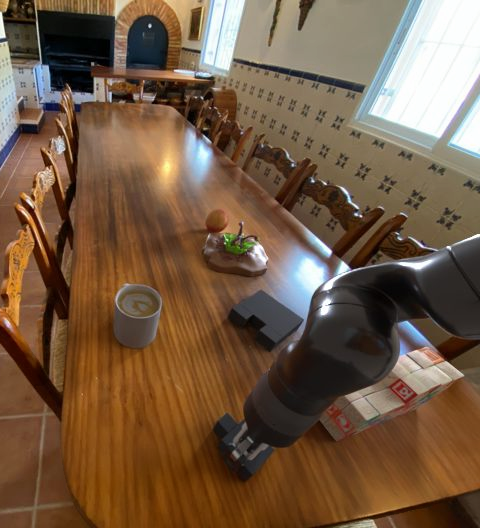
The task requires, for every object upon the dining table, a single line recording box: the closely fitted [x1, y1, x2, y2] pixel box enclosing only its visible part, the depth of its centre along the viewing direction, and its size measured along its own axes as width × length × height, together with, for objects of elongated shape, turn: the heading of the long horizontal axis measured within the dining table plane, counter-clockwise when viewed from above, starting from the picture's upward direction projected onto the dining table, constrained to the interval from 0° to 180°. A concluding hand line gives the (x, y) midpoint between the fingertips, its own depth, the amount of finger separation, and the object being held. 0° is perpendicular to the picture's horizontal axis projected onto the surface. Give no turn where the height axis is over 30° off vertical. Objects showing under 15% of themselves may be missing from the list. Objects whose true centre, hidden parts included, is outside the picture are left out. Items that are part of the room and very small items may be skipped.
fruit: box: [205, 208, 230, 233], centre depth 102 cm, size 8×8×8 cm
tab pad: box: [212, 412, 276, 483], centre depth 50 cm, size 6×8×4 cm
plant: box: [200, 221, 269, 278], centre depth 90 cm, size 20×20×11 cm
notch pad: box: [227, 289, 305, 353], centre depth 72 cm, size 12×12×4 cm
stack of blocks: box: [318, 346, 465, 442], centre depth 54 cm, size 21×6×12 cm, turn 108°
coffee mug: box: [112, 283, 163, 349], centre depth 67 cm, size 13×10×10 cm
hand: (242, 451), depth 50 cm, fingers closed on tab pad, 6 cm apart
